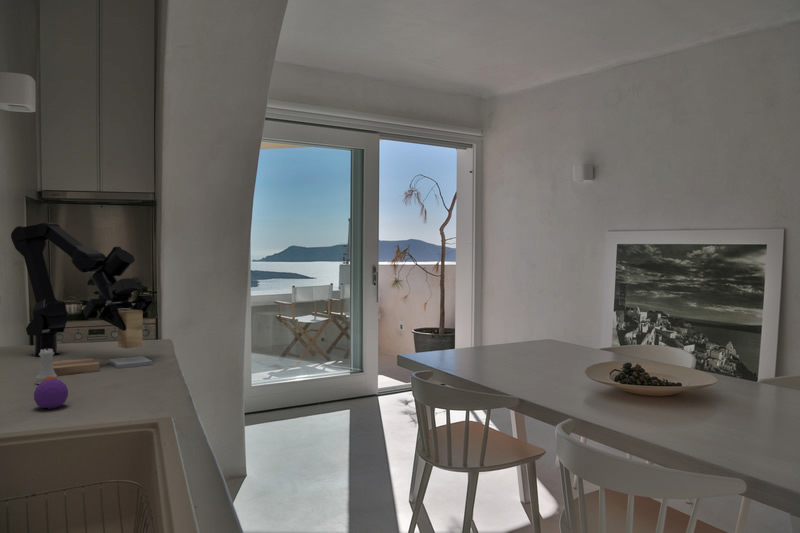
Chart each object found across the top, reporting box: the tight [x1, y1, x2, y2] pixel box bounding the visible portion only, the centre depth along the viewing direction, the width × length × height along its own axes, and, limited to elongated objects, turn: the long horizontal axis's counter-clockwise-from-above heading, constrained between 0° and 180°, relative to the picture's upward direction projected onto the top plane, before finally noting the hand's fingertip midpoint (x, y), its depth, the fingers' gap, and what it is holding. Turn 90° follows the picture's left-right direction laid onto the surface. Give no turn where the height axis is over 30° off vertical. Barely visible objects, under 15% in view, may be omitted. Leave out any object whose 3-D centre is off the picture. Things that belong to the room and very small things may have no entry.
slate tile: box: [108, 355, 153, 369], centre depth 162 cm, size 9×9×1 cm
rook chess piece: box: [35, 349, 58, 385], centre depth 138 cm, size 4×4×8 cm
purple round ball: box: [33, 376, 69, 410], centre depth 123 cm, size 6×6×20 cm
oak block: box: [117, 309, 144, 349], centre depth 161 cm, size 4×4×10 cm
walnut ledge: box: [52, 357, 101, 377], centre depth 152 cm, size 10×11×2 cm
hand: (133, 328), depth 161 cm, fingers closed on oak block, 5 cm apart
